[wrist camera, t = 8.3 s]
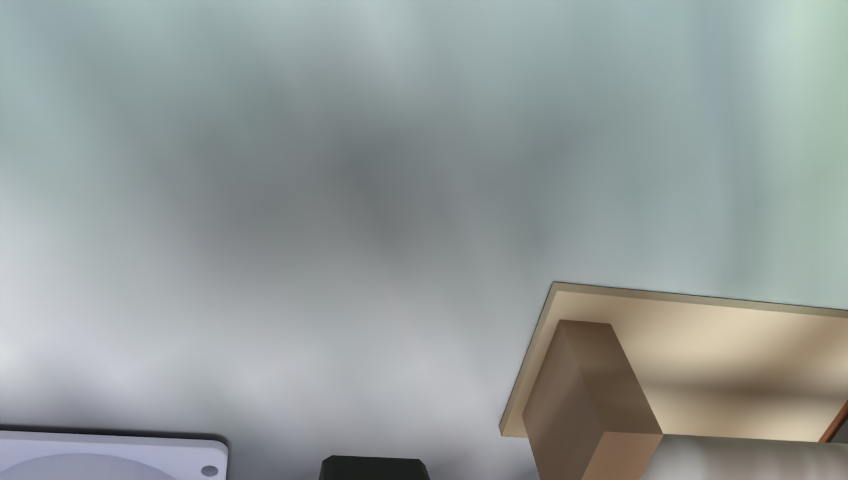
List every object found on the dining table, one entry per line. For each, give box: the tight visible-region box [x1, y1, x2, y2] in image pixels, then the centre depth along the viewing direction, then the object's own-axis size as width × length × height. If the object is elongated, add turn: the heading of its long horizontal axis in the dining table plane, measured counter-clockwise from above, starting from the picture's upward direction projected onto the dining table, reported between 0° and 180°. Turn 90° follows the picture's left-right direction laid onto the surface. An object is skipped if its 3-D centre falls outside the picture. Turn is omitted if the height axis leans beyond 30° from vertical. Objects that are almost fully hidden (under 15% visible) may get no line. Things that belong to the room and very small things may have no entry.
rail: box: [499, 282, 848, 480], centre depth 24 cm, size 17×6×5 cm, turn 78°
